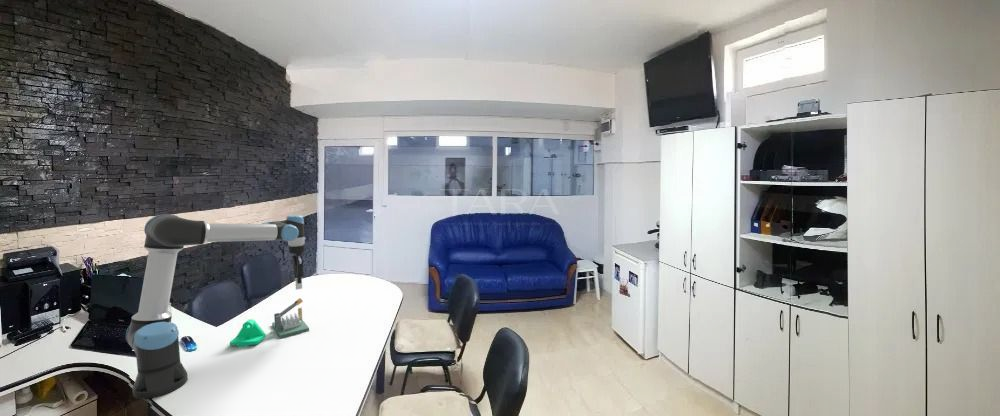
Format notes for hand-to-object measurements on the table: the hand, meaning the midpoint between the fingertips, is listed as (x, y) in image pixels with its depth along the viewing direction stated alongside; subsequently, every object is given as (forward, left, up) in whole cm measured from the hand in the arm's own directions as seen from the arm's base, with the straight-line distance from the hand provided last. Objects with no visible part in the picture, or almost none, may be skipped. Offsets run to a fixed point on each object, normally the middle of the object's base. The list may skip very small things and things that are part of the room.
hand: (299, 288), depth 186 cm
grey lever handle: (0, +5, -10) cm, 11 cm away
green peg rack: (0, +5, -20) cm, 21 cm away
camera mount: (-5, +24, -21) cm, 32 cm away
